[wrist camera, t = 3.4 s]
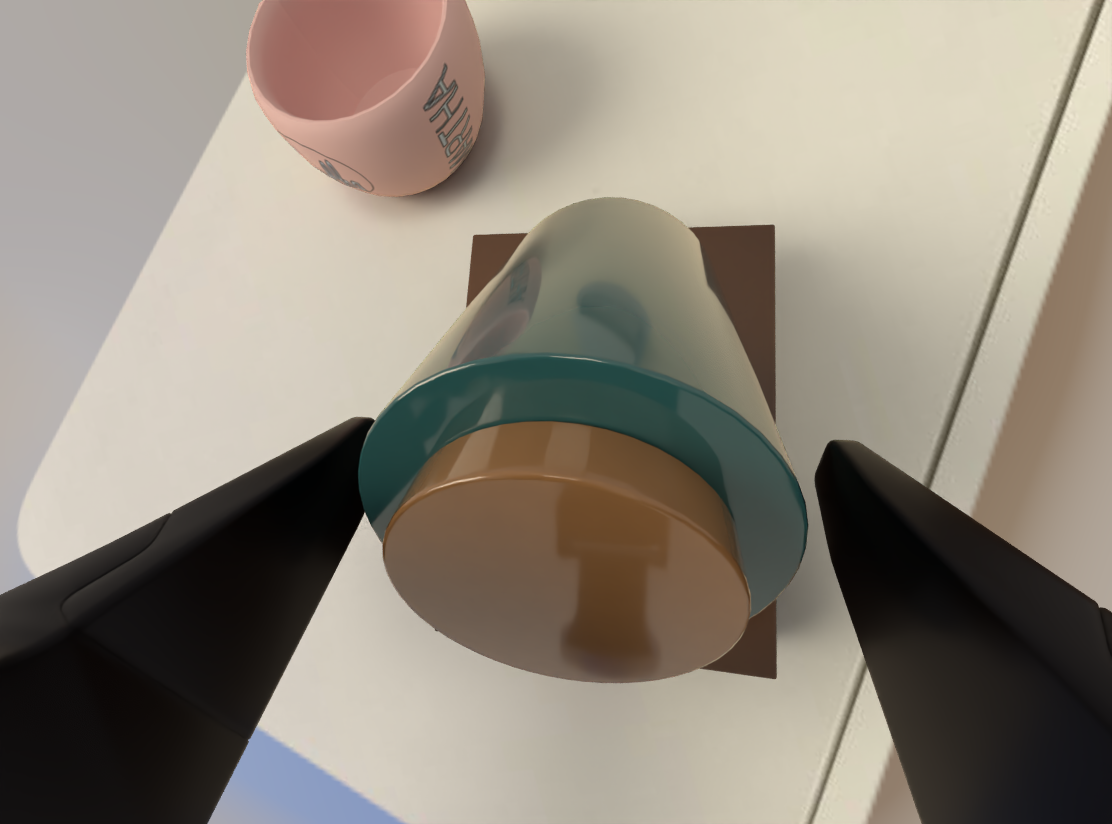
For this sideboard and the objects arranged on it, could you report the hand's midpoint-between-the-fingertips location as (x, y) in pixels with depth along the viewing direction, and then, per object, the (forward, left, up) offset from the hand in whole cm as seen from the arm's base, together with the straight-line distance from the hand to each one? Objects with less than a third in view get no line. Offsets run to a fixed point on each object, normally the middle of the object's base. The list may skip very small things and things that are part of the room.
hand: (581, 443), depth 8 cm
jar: (+1, 0, -1) cm, 2 cm away
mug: (+17, +12, -11) cm, 23 cm away
